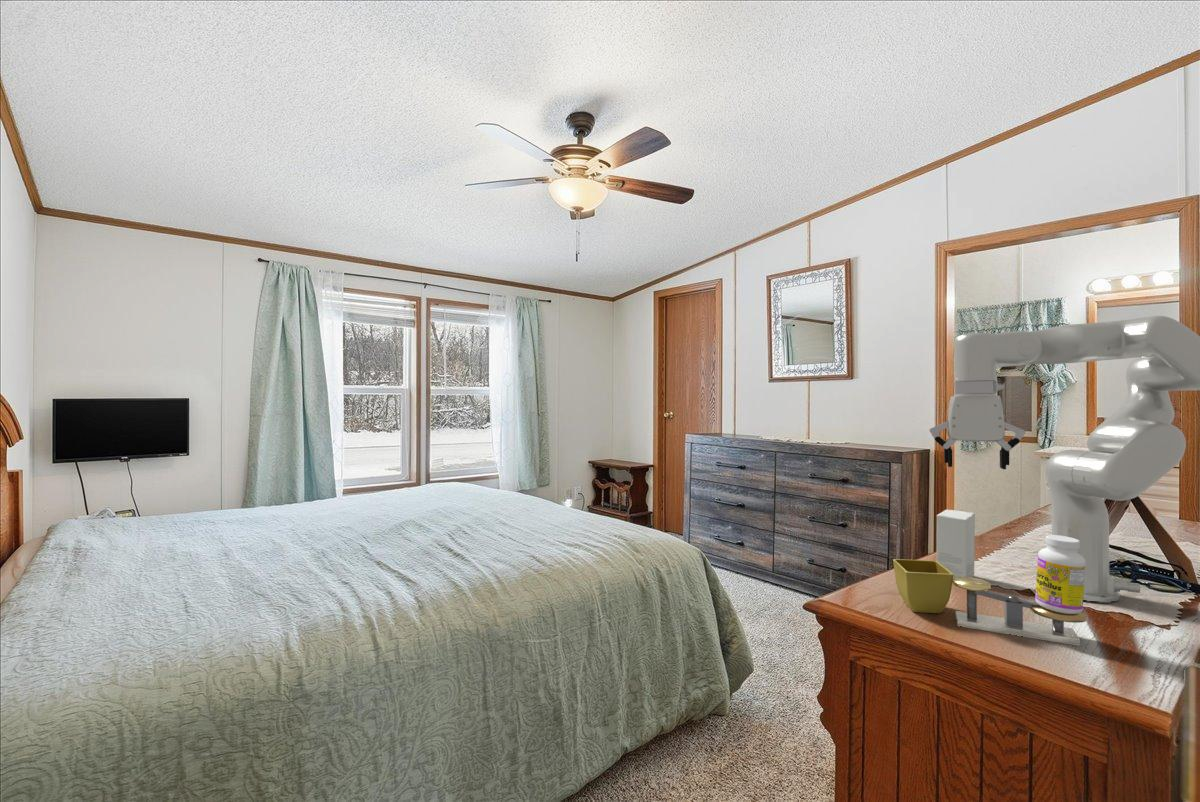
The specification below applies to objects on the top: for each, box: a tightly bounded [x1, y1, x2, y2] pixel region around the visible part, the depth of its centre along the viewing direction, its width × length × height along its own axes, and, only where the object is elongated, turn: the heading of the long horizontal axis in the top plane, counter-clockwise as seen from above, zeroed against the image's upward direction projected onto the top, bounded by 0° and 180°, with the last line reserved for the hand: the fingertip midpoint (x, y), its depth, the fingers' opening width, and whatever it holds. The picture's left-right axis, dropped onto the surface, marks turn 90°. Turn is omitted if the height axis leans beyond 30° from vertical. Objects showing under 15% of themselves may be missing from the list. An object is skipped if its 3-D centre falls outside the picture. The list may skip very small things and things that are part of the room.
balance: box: [952, 576, 1088, 647], centre depth 102 cm, size 20×8×8 cm, turn 61°
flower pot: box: [892, 558, 953, 614], centre depth 113 cm, size 9×9×9 cm
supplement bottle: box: [1034, 534, 1086, 614], centre depth 99 cm, size 7×7×13 cm
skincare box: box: [936, 508, 976, 578], centre depth 132 cm, size 8×7×16 cm
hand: (975, 467), depth 119 cm, fingers open, 9 cm apart
